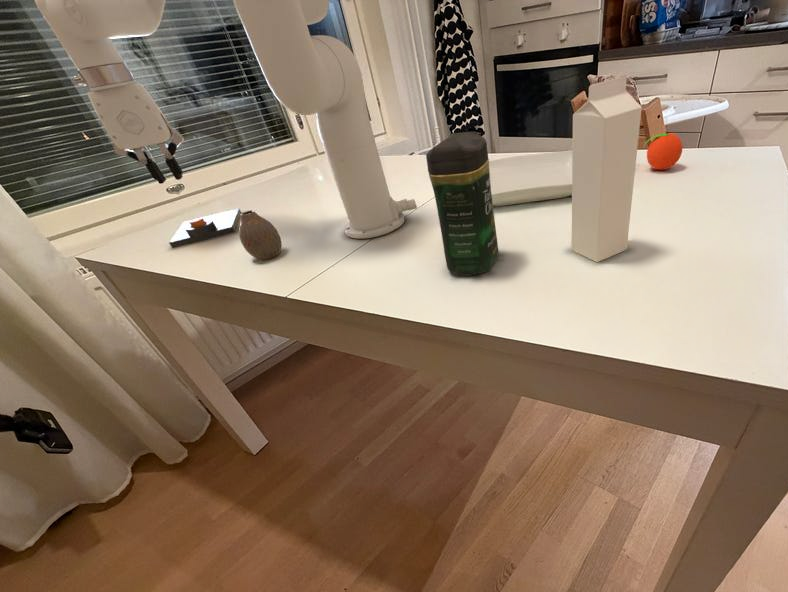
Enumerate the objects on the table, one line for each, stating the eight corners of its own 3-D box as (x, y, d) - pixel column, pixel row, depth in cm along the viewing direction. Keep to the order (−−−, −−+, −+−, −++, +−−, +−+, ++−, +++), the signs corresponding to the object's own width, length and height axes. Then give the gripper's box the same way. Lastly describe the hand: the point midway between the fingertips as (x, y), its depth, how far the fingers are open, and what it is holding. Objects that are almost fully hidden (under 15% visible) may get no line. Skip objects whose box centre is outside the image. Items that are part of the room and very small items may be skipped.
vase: (274, 263, 76) (250, 218, 70) (244, 264, 78) (219, 220, 72) (293, 247, 81) (273, 204, 75) (265, 248, 83) (243, 207, 77)
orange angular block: (207, 222, 94) (203, 216, 93) (205, 226, 92) (201, 220, 91) (194, 225, 94) (190, 219, 93) (191, 229, 92) (187, 223, 91)
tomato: (641, 176, 85) (646, 139, 80) (637, 166, 90) (641, 131, 85) (682, 172, 83) (689, 134, 78) (675, 162, 88) (681, 126, 83)
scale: (241, 213, 106) (235, 202, 104) (235, 233, 94) (228, 220, 92) (186, 227, 103) (179, 215, 101) (172, 249, 91) (163, 236, 89)
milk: (626, 250, 60) (647, 75, 46) (596, 263, 59) (608, 85, 44) (599, 238, 65) (610, 75, 51) (569, 250, 63) (572, 84, 49)
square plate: (600, 199, 78) (601, 178, 75) (464, 217, 80) (461, 198, 78) (576, 163, 98) (577, 145, 96) (468, 178, 101) (466, 162, 99)
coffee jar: (491, 277, 60) (473, 142, 48) (442, 277, 62) (413, 148, 50) (504, 249, 67) (491, 124, 55) (460, 250, 69) (438, 130, 57)
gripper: (51, 88, 70) (125, 193, 82) (150, 70, 73) (207, 175, 85) (69, 86, 76) (136, 185, 88) (160, 70, 79) (213, 168, 91)
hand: (171, 179), depth 86 cm, fingers closed
